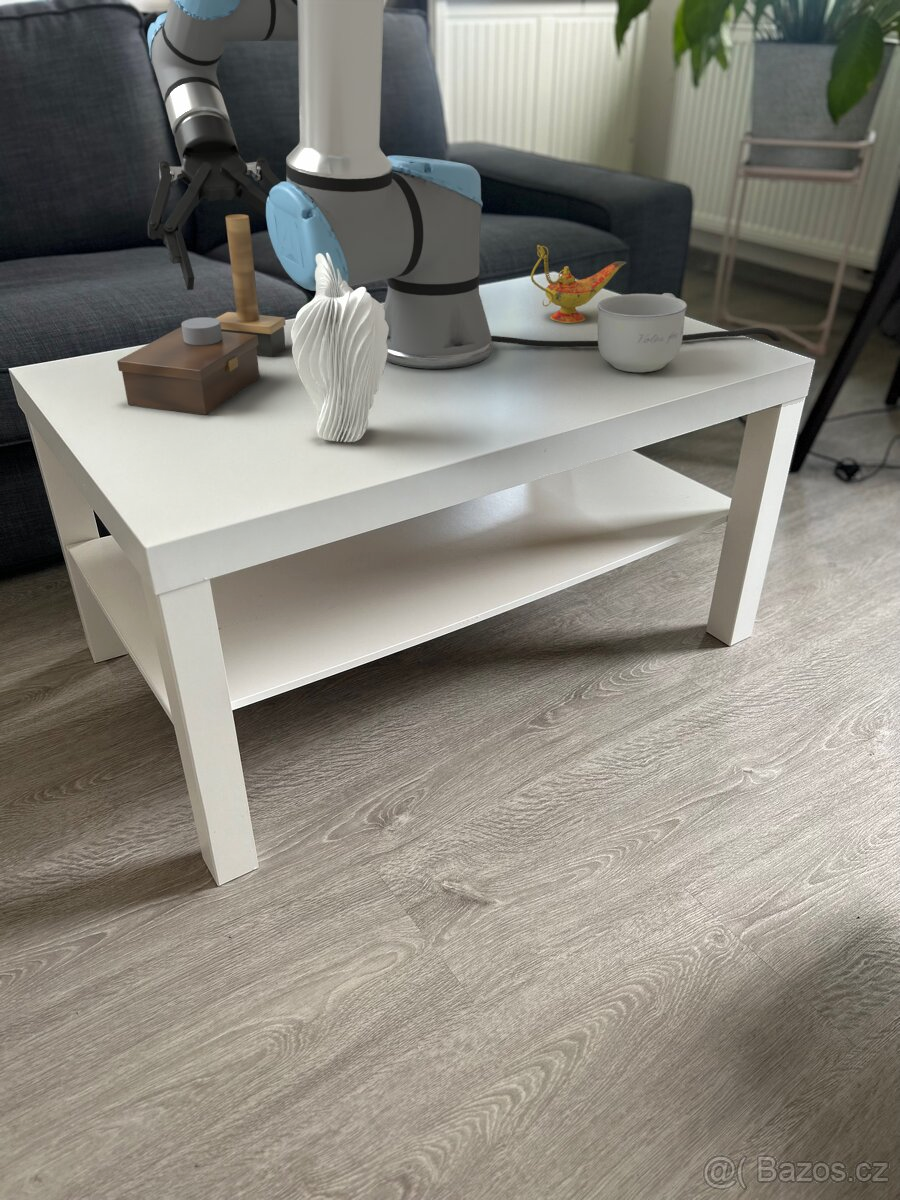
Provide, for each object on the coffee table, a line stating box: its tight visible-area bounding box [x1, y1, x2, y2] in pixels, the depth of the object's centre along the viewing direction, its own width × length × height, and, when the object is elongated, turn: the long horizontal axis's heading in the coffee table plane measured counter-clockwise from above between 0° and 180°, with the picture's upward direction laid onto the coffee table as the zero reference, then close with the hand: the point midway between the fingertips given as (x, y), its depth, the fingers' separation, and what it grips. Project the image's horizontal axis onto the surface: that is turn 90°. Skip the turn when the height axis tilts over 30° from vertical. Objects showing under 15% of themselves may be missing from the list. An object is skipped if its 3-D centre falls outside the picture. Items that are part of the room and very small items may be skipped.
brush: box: [214, 213, 287, 358], centre depth 118 cm, size 8×4×16 cm, turn 73°
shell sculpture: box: [290, 253, 389, 443], centre depth 93 cm, size 8×8×18 cm
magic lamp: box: [530, 244, 627, 324], centre depth 134 cm, size 7×18×11 cm, turn 125°
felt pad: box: [180, 316, 222, 345], centre depth 108 cm, size 4×4×2 cm
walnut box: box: [116, 326, 260, 416], centre depth 108 cm, size 11×13×5 cm
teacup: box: [597, 292, 688, 373], centre depth 117 cm, size 14×11×8 cm
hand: (245, 278), depth 117 cm, fingers open, 13 cm apart
